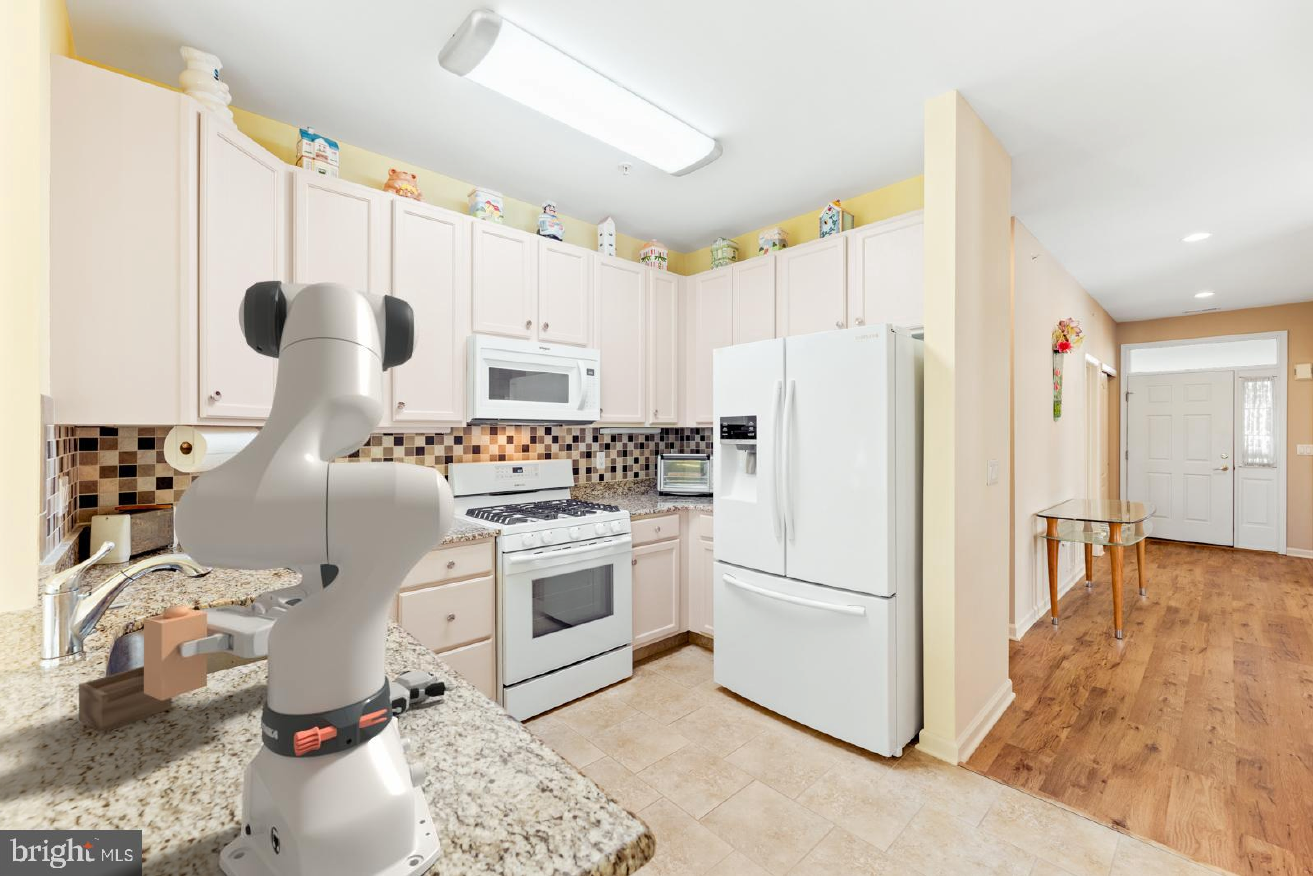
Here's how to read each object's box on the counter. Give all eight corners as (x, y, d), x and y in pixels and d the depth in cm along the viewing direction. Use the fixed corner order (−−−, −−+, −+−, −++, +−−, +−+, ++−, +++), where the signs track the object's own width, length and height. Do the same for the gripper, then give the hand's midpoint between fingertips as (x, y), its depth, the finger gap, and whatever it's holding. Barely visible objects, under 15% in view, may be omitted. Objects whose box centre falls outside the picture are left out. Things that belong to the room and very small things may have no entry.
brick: (206, 685, 77) (207, 605, 77) (161, 700, 72) (161, 615, 73) (188, 679, 79) (188, 601, 79) (143, 693, 75) (144, 611, 75)
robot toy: (411, 687, 96) (321, 718, 83) (413, 660, 96) (323, 687, 83) (459, 705, 89) (370, 741, 76) (461, 676, 89) (372, 707, 77)
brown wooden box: (171, 708, 86) (171, 674, 86) (102, 732, 79) (102, 695, 79) (147, 697, 90) (147, 665, 90) (78, 719, 83) (78, 684, 83)
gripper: (240, 591, 92) (132, 613, 80) (315, 605, 83) (206, 634, 71) (240, 629, 92) (132, 657, 80) (315, 648, 83) (206, 684, 70)
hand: (167, 646), depth 75 cm, fingers closed on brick, 5 cm apart
